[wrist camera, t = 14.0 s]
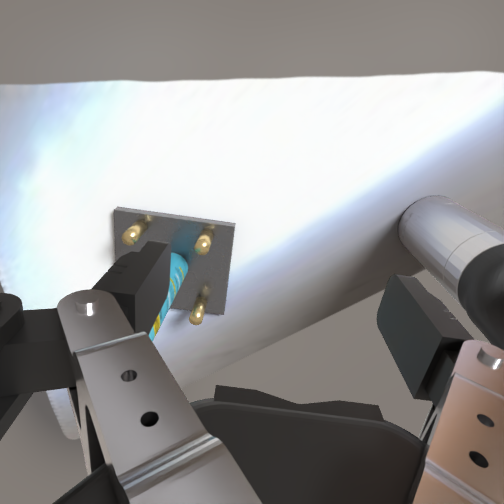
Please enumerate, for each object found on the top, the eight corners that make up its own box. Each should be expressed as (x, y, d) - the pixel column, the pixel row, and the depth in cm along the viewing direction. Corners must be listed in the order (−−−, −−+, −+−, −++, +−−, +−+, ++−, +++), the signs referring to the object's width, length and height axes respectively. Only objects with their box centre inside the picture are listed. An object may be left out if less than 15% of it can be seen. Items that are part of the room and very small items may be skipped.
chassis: (235, 223, 52) (231, 239, 46) (224, 309, 59) (220, 333, 53) (117, 206, 51) (98, 221, 45) (120, 295, 58) (104, 318, 52)
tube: (191, 285, 55) (158, 372, 37) (162, 286, 55) (115, 374, 38) (184, 243, 52) (144, 317, 34) (153, 244, 52) (98, 319, 35)
